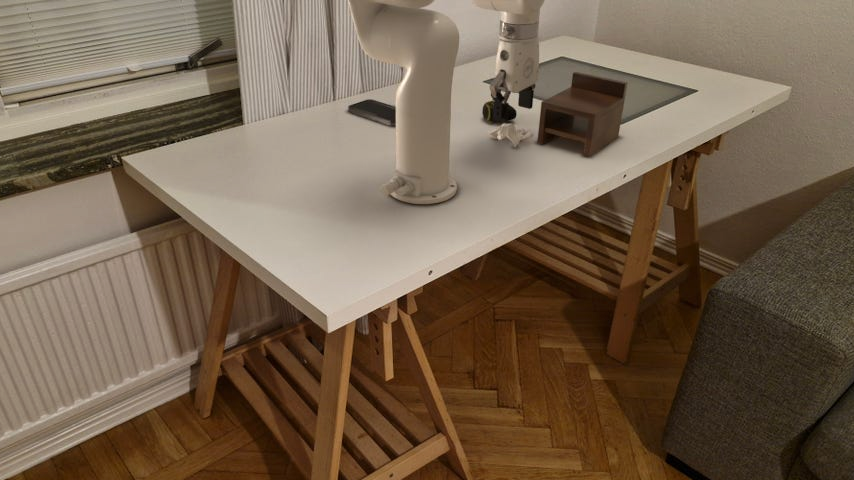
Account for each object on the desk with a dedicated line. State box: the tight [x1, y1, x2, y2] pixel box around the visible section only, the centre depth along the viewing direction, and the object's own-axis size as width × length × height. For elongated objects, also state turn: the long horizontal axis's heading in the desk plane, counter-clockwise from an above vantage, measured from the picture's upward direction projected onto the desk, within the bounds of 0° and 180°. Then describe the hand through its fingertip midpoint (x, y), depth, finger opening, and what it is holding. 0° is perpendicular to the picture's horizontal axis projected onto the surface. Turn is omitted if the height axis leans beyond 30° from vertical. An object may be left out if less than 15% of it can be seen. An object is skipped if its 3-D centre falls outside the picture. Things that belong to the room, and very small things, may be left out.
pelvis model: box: [489, 122, 534, 148], centre depth 146 cm, size 8×4×7 cm
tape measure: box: [481, 100, 518, 124], centre depth 157 cm, size 7×7×4 cm
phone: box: [347, 98, 396, 127], centre depth 160 cm, size 8×1×15 cm
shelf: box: [536, 71, 628, 158], centre depth 145 cm, size 14×12×12 cm
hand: (512, 113), depth 144 cm, fingers open, 9 cm apart
